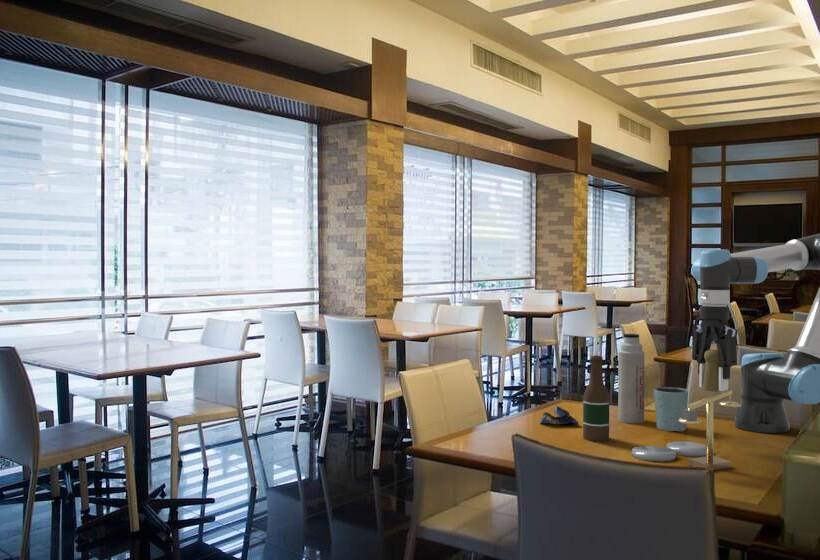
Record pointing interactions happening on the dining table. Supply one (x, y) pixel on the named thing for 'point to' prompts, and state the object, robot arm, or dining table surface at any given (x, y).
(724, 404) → the balance
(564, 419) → the snack package
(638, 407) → the thermos bottle
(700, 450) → the dish high end
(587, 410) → the beer bottle
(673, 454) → the dish low end
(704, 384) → the pepper shaker
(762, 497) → the dining table surface
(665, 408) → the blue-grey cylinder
